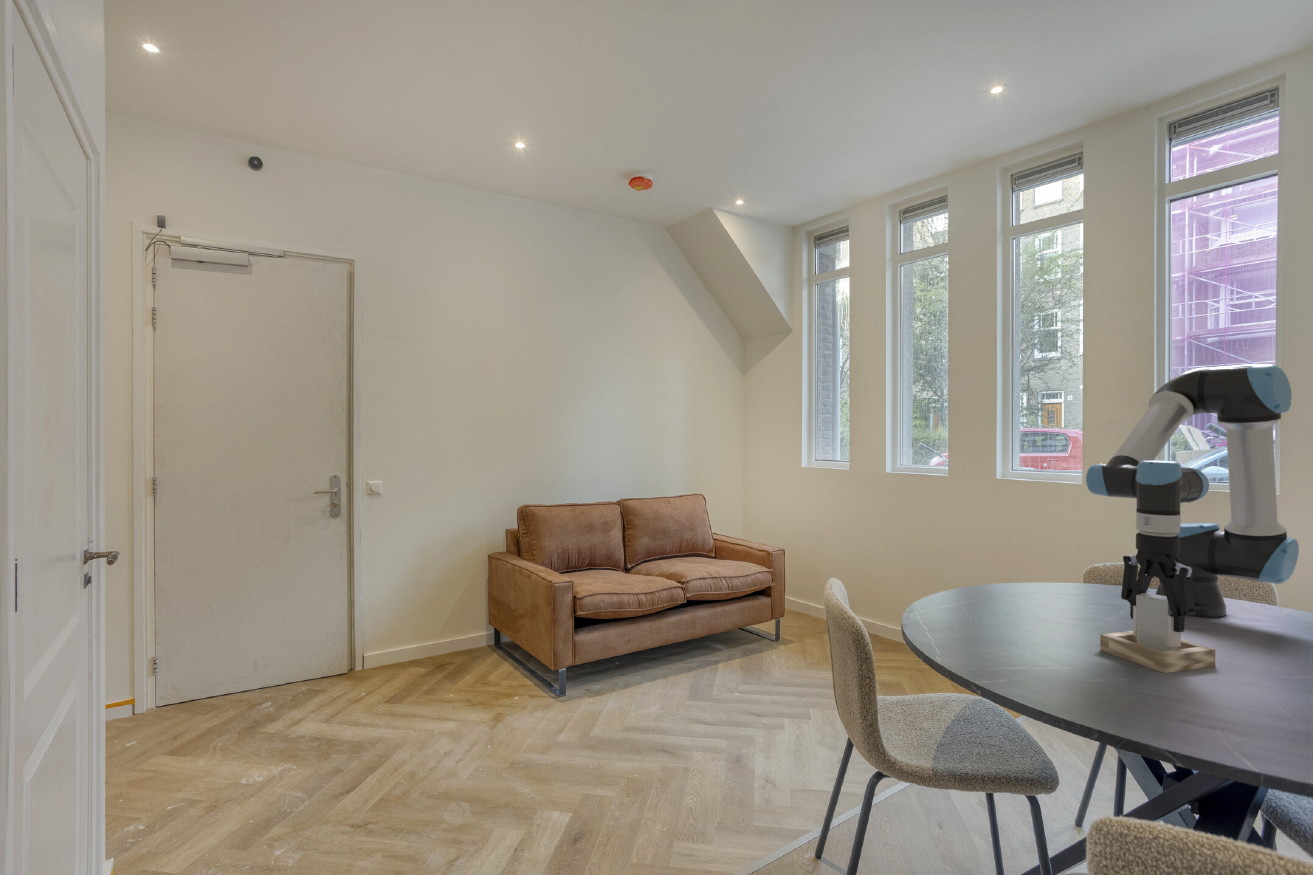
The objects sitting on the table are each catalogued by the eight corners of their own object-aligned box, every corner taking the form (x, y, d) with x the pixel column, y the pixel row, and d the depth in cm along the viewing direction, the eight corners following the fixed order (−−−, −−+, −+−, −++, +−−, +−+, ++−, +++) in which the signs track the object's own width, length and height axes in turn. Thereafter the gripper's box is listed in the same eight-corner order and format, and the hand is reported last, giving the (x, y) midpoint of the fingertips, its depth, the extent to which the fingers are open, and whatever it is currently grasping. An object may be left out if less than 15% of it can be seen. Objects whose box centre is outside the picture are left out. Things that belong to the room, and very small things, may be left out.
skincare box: (1177, 654, 141) (1178, 597, 140) (1168, 658, 138) (1169, 600, 138) (1143, 645, 146) (1144, 591, 145) (1134, 649, 143) (1135, 594, 143)
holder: (1148, 644, 150) (1148, 628, 150) (1215, 665, 137) (1215, 649, 137) (1100, 650, 147) (1100, 634, 147) (1164, 673, 133) (1164, 655, 133)
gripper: (1101, 527, 150) (1100, 628, 150) (1193, 542, 131) (1191, 658, 131) (1127, 525, 152) (1125, 625, 152) (1221, 540, 133) (1219, 654, 133)
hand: (1156, 640), depth 142 cm, fingers closed on skincare box, 7 cm apart
